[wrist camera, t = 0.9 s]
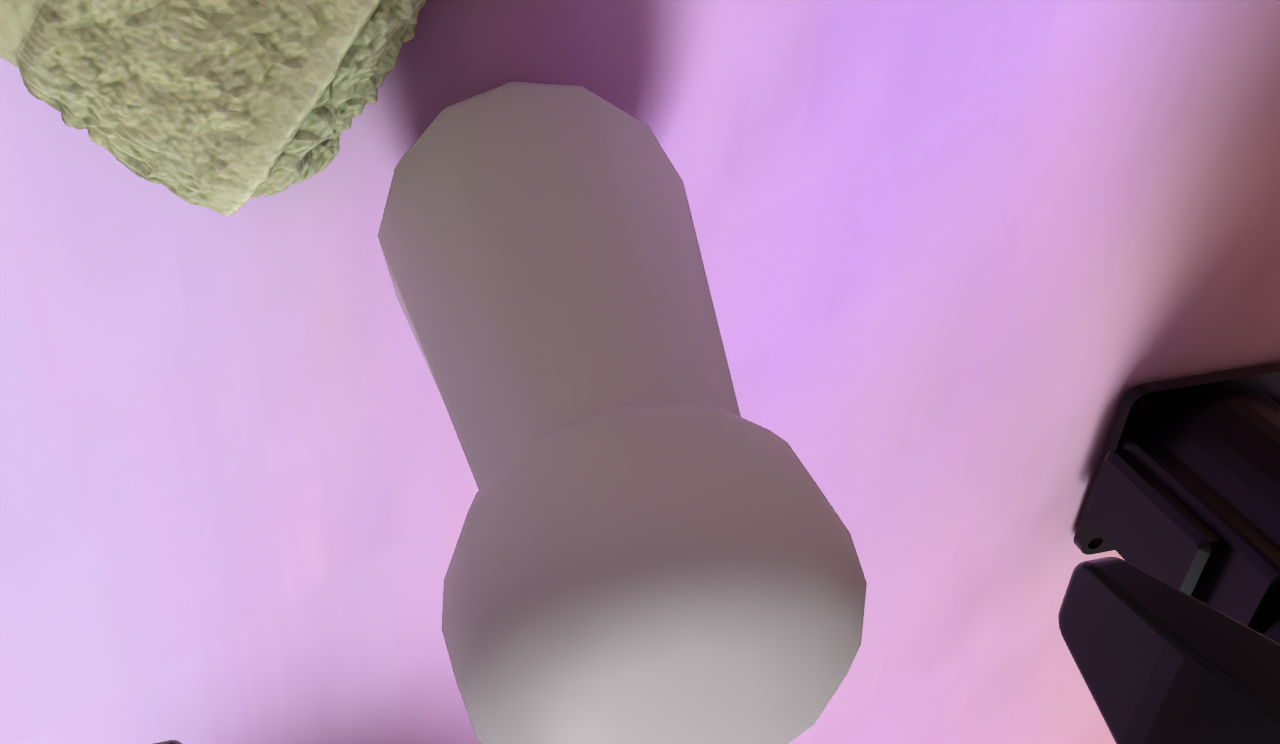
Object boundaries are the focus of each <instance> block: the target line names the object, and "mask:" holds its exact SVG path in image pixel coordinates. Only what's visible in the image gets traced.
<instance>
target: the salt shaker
mask: <svg viewBox="0 0 1280 744" xmlns="http://www.w3.org/2000/svg"><path fill="white" fill-rule="evenodd" d="M378 237H379V241H380V244H381V247H382V250H383V253H384V257H385V260H386V263H387V266H388V269H389V273H390V276H391V279H392V282H393V285H394V289H395V292H396V295H397V298H398V300H399V302H400V305H401V307H402V309H403V311H404V314H405V316H406V318H407V320H408V323H409V325H410V327H411V329H412V332H413V334H414V336H415V338H416V341H417V343H418V345H419V347H420V349H421V352H422V354H423V356H424V358H425V361H426V363H427V365H428V367H429V370H430V372H431V374H432V376H433V379H434V381H435V383H436V385H437V388H438V390H439V392H440V394H441V397H442V399H443V401H444V403H445V406H446V408H447V410H448V413H449V416H450V418H451V421H452V423H453V426H454V428H455V431H456V433H457V436H458V438H459V441H460V443H461V446H462V448H463V451H464V453H465V456H466V458H467V461H468V463H469V466H470V468H471V471H472V473H473V476H474V478H475V481H476V483H477V486H478V488H479V491H478V492H477V493H476V495H475V498H474V500H473V502H472V504H471V507H470V509H469V511H468V513H467V516H466V519H465V522H464V525H463V528H462V531H461V533H460V536H459V539H458V542H457V545H456V548H455V551H454V553H453V556H452V559H451V562H450V565H449V568H448V571H447V573H446V576H445V579H444V591H443V614H442V632H443V635H444V639H445V642H446V646H447V650H448V653H449V657H450V660H451V664H452V667H453V671H454V675H455V678H456V682H457V685H458V688H459V690H460V693H461V696H462V699H463V702H464V704H465V707H466V710H467V713H468V716H469V718H470V721H471V724H472V727H473V730H474V732H475V735H476V738H477V741H479V742H480V743H482V744H788V743H789V742H791V741H792V740H793V739H795V738H796V737H797V736H799V735H800V734H801V733H803V732H804V731H805V730H807V729H808V728H810V727H811V726H812V725H814V724H815V722H816V721H817V719H818V718H819V716H820V715H821V713H822V712H823V710H824V708H825V707H826V705H827V704H828V702H829V701H830V699H831V698H832V696H833V695H834V693H835V692H836V690H837V688H838V687H839V685H840V684H841V682H842V681H843V679H844V678H845V676H846V675H847V673H848V670H849V668H850V666H851V664H852V662H853V660H854V658H855V656H856V653H857V651H858V649H859V647H860V645H861V637H862V627H863V616H864V605H865V594H866V584H867V583H866V580H865V577H864V574H863V571H862V568H861V565H860V562H859V559H858V556H857V553H856V550H855V547H854V544H853V541H852V538H851V535H850V533H849V531H848V530H847V528H846V527H845V525H844V524H843V522H842V521H841V519H840V518H839V516H838V515H837V513H836V512H835V511H834V509H833V508H832V506H831V505H830V503H829V502H828V500H827V499H826V497H825V496H824V494H823V493H822V491H821V490H820V489H819V487H818V486H817V484H816V483H815V481H814V480H813V479H812V477H811V476H810V474H809V473H808V471H807V470H806V469H805V467H804V466H803V464H802V463H801V461H800V460H799V459H798V457H797V456H796V454H795V453H794V451H793V450H792V449H791V447H790V446H789V444H788V443H787V442H786V441H784V440H783V439H781V438H780V437H779V436H777V435H776V434H774V433H773V432H771V431H770V430H768V429H766V428H763V427H761V426H759V425H757V424H754V423H752V422H750V421H748V420H746V419H743V418H741V416H740V412H739V408H738V404H737V400H736V396H735V392H734V388H733V384H732V379H731V375H730V371H729V367H728V363H727V359H726V355H725V351H724V347H723V343H722V339H721V335H720V331H719V326H718V322H717V318H716V314H715V310H714V306H713V302H712V298H711V294H710V290H709V286H708V282H707V277H706V273H705V269H704V265H703V261H702V257H701V253H700V249H699V245H698V241H697V237H696V233H695V228H694V224H693V220H692V216H691V212H690V208H689V204H688V200H687V196H686V192H685V188H684V184H683V181H682V179H681V178H680V176H679V175H678V173H677V171H676V170H675V168H674V166H673V165H672V163H671V162H670V160H669V158H668V157H667V155H666V154H665V152H664V150H663V149H662V147H661V146H660V144H659V142H658V141H657V139H656V137H655V136H654V134H653V133H652V131H651V129H650V128H649V126H647V125H646V124H644V123H643V122H641V121H640V120H638V119H637V118H635V117H633V116H632V115H630V114H628V113H627V112H625V111H623V110H622V109H620V108H618V107H616V106H615V105H613V104H611V103H610V102H608V101H606V100H605V99H603V98H601V97H600V96H598V95H596V94H595V93H593V92H591V91H590V90H588V89H586V88H585V87H583V86H577V85H561V84H546V83H530V82H515V81H511V82H509V83H506V84H504V85H501V86H499V87H496V88H493V89H491V90H488V91H486V92H483V93H481V94H478V95H476V96H473V97H470V98H468V99H465V100H463V101H460V102H458V103H455V104H452V105H450V106H447V107H445V108H443V110H442V111H441V112H440V113H439V114H438V116H437V117H436V118H435V119H434V120H433V122H432V123H431V124H430V125H429V126H428V128H427V129H426V130H425V131H424V132H423V133H422V135H421V136H420V137H419V138H418V139H417V141H416V142H415V143H414V144H413V145H412V147H411V148H410V149H409V150H408V151H407V152H406V154H405V155H404V156H403V157H402V158H401V160H400V161H399V163H398V165H397V166H396V168H395V171H394V175H393V179H392V182H391V186H390V190H389V194H388V198H387V202H386V206H385V210H384V214H383V218H382V222H381V226H380V230H379V234H378Z"/></svg>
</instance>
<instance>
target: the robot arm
mask: <svg viewBox="0 0 1280 744" xmlns="http://www.w3.org/2000/svg"><path fill="white" fill-rule="evenodd" d="M1074 543H1075V545H1076V546H1077V547H1078V548H1079V549H1080V550H1081V551H1082V552H1083V553H1084V554H1095V553H1101V552H1106V551H1111V550H1116V551H1117V552H1118V553H1119V554H1120V555H1121V556H1122V557H1123V559H1124V560H1122V559H1120V558H1116V557H1105V558H1100V559H1095V560H1090V561H1085V562H1082V563H1080V564H1078V565H1077V566H1076V567H1075V569H1074V571H1073V573H1072V576H1071V579H1070V582H1069V585H1068V587H1067V590H1066V593H1065V596H1064V599H1063V602H1062V605H1061V608H1060V611H1059V627H1060V630H1061V634H1062V636H1063V639H1064V641H1065V643H1066V645H1067V647H1068V649H1069V651H1070V653H1071V655H1072V657H1073V659H1074V661H1075V663H1076V664H1077V666H1078V668H1079V670H1080V672H1081V674H1082V676H1083V678H1084V680H1085V682H1086V684H1087V686H1088V688H1089V690H1090V692H1091V694H1092V696H1093V698H1094V700H1095V702H1096V704H1097V706H1098V708H1099V710H1100V712H1101V714H1102V716H1103V718H1104V720H1105V722H1106V724H1107V726H1108V728H1109V730H1110V732H1111V734H1112V736H1113V738H1114V740H1115V742H1116V744H1280V363H1275V364H1269V365H1262V366H1256V367H1250V368H1243V369H1237V370H1231V371H1224V372H1218V373H1212V374H1205V375H1199V376H1193V377H1186V378H1180V379H1174V380H1167V381H1161V382H1155V383H1148V384H1142V385H1138V386H1135V387H1134V388H1132V389H1130V390H1129V391H1128V392H1127V393H1126V394H1125V395H1124V397H1123V399H1122V400H1121V403H1120V406H1119V409H1118V412H1117V414H1116V417H1115V420H1114V423H1113V426H1112V429H1111V432H1110V435H1109V438H1108V441H1107V443H1106V446H1105V449H1104V452H1103V455H1102V458H1101V461H1100V464H1099V467H1098V470H1097V472H1096V475H1095V478H1094V481H1093V484H1092V487H1091V490H1090V493H1089V496H1088V499H1087V501H1086V504H1085V507H1084V510H1083V513H1082V516H1081V519H1080V522H1079V525H1078V528H1077V530H1076V533H1075V536H1074ZM154 744H182V743H180V742H178V741H176V740H169V741H164V742H159V743H154Z"/></svg>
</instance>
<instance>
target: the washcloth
mask: <svg viewBox="0 0 1280 744" xmlns="http://www.w3.org/2000/svg"><path fill="white" fill-rule="evenodd" d="M426 1H427V0H0V57H2V58H3V59H4V60H6V61H8V62H10V63H11V64H13V65H15V66H17V67H18V68H19V70H20V73H21V76H22V79H23V81H24V84H25V86H26V88H27V90H28V91H29V93H30V94H32V95H33V96H34V97H36V98H37V99H40V100H42V101H44V102H46V103H47V104H48V105H50V106H51V107H53V108H54V109H56V110H58V111H60V112H61V115H62V119H63V121H64V123H65V125H67V126H69V127H75V128H78V129H85V128H86V129H88V132H89V136H90V139H91V141H93V142H95V143H96V144H98V145H100V146H102V147H104V148H105V149H107V150H108V151H109V152H110V153H111V154H113V155H114V156H115V157H116V159H117V160H118V161H120V162H121V163H122V164H123V165H125V166H126V167H127V168H128V169H130V170H131V171H132V172H134V173H135V174H136V175H138V176H140V177H142V178H144V179H146V180H148V181H151V182H154V183H157V184H163V185H164V186H165V187H167V188H168V189H169V190H170V191H171V192H172V193H174V194H175V195H176V196H178V197H179V198H181V199H182V200H184V201H186V202H188V203H189V204H192V205H199V206H202V207H206V208H210V209H212V210H214V211H216V212H218V213H220V214H222V215H224V216H230V215H232V214H234V213H235V212H236V211H237V210H239V209H240V208H241V207H242V206H243V205H244V204H245V203H246V201H247V200H248V199H249V198H251V197H256V198H257V197H260V196H261V195H272V194H275V193H278V192H282V191H284V190H286V189H287V187H288V186H289V185H290V184H294V183H298V182H302V181H303V180H304V179H307V178H310V177H311V176H313V175H314V174H316V173H319V172H322V171H323V170H324V169H325V168H326V167H327V166H328V165H329V164H330V162H331V161H332V160H333V158H334V157H335V156H336V155H337V154H338V152H339V135H340V134H341V132H342V131H343V130H345V129H348V128H350V127H351V122H352V118H353V117H355V116H358V115H360V114H362V112H363V108H364V105H365V104H367V103H376V102H377V91H378V88H379V87H380V86H382V83H383V81H384V78H385V76H386V75H387V74H388V73H389V72H390V71H392V70H393V69H394V68H395V64H396V60H397V58H398V55H399V52H400V49H401V47H402V45H403V44H404V43H405V42H407V41H410V40H412V39H414V36H415V28H416V25H417V20H418V14H419V11H420V10H421V8H422V7H423V6H424V5H425V3H426Z"/></svg>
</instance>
